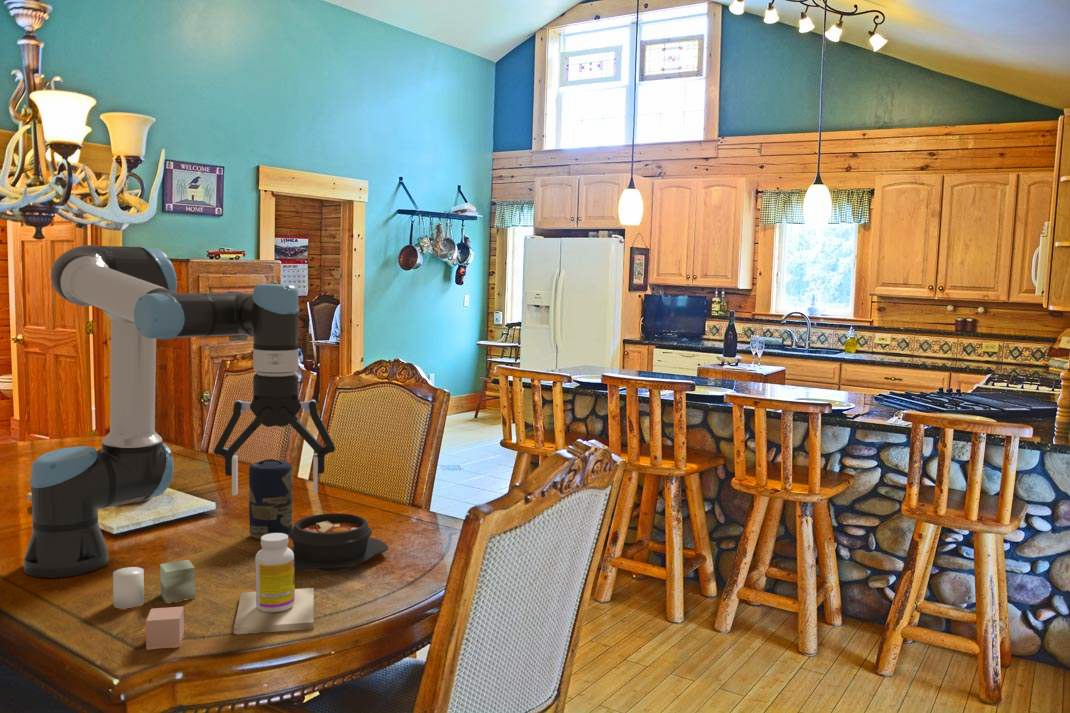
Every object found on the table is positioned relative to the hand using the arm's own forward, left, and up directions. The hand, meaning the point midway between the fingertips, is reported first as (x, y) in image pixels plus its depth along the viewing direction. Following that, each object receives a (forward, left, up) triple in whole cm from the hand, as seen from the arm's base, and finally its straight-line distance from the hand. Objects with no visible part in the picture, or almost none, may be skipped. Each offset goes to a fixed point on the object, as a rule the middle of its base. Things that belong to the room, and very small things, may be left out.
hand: (275, 492), depth 152 cm
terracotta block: (-17, -9, -22) cm, 29 cm away
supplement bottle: (0, 0, -21) cm, 21 cm away
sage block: (-18, +11, -22) cm, 31 cm away
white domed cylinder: (-26, +9, -22) cm, 35 cm away
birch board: (0, 0, -22) cm, 22 cm away
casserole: (+10, +26, -22) cm, 36 cm away
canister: (-3, +45, -22) cm, 50 cm away
